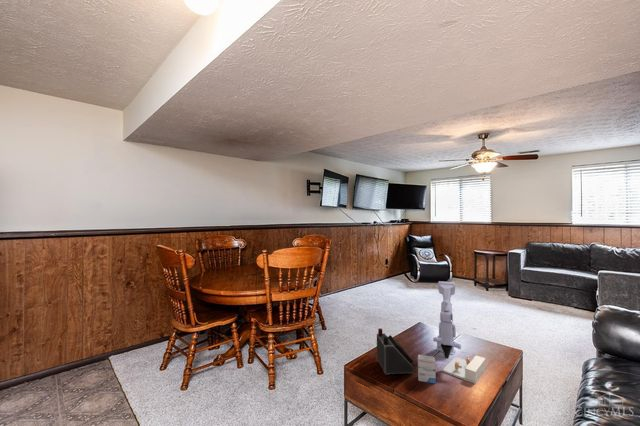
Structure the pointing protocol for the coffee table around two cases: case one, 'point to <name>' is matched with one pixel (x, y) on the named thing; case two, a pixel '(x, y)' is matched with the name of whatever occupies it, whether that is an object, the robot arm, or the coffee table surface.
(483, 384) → the coffee table surface
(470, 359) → the knob
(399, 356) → the dark wedge stand
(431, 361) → the ink box
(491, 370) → the coffee table surface
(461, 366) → the knob
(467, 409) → the coffee table surface
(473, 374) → the panel mount
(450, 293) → the robot arm
